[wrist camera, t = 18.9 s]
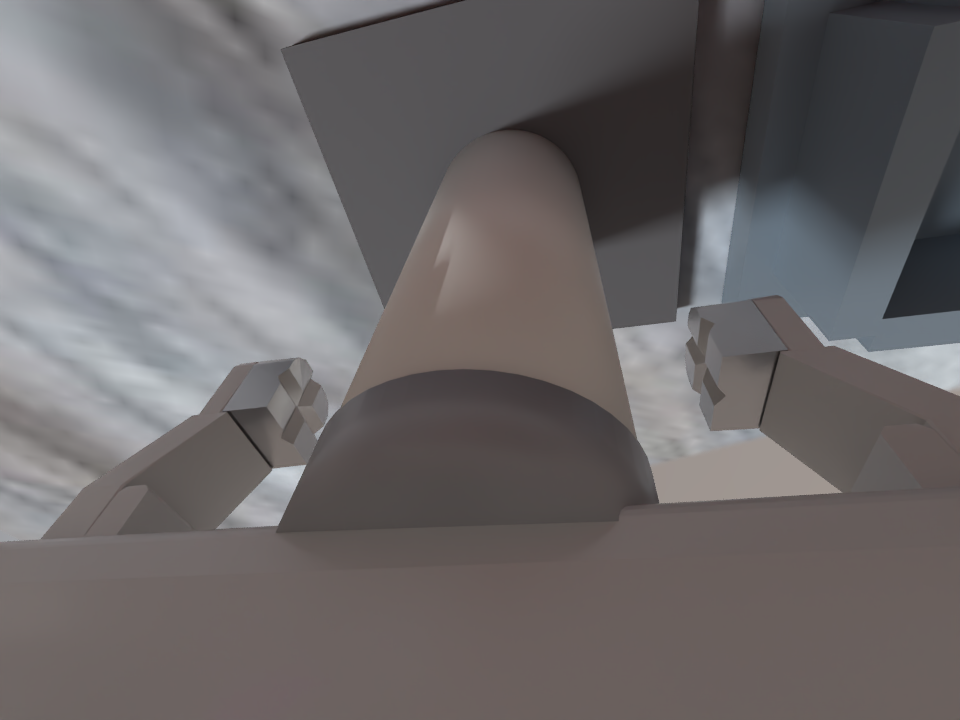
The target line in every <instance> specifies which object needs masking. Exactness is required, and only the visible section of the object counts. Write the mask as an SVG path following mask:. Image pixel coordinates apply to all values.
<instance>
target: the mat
mask: <svg viewBox="0 0 960 720" xmlns="http://www.w3.org/2000/svg"><path fill="white" fill-rule="evenodd" d="M698 7H699V0H463V1H460V2H456V3H452V4H448V5H445V6H441V7H437V8H433V9H429V10H426V11H422V12H418V13H414V14H410V15H407V16H403V17H399V18H395V19H392V20H388V21H384V22H380V23H376V24H373V25H369V26H365V27H361V28H357V29H354V30H350V31H346V32H342V33H339V34H335V35H331V36H327V37H323V38H320V39H316V40H312V41H308V42H304V43H301V44H297V45H293V46H290V47H286V48H283V49H281V52H282V54H283V57H284V59H285V62H286V64H287V67H288V69H289V72H290V74H291V77H292V79H293V82H294V84H295V87H296V89H297V92H298V94H299V97H300V99H301V102H302V104H303V107H304V109H305V112H306V114H307V117H308V119H309V122H310V124H311V127H312V129H313V132H314V134H315V137H316V139H317V142H318V144H319V147H320V149H321V152H322V154H323V157H324V159H325V162H326V164H327V167H328V169H329V172H330V174H331V177H332V179H333V182H334V184H335V187H336V189H337V192H338V194H339V197H340V199H341V202H342V204H343V207H344V209H345V212H346V214H347V217H348V219H349V222H350V224H351V227H352V229H353V232H354V234H355V236H356V239H357V241H358V244H359V246H360V249H361V251H362V254H363V256H364V259H365V261H366V264H367V266H368V269H369V271H370V274H371V276H372V279H373V281H374V284H375V286H376V289H377V291H378V294H379V296H380V299H381V301H382V304H383V306H384V309H385V307H386V305H387V303H388V301H389V298H390V296H391V294H392V292H393V290H394V287H395V285H396V283H397V281H398V278H399V276H400V274H401V272H402V269H403V267H404V265H405V263H406V261H407V258H408V256H409V254H410V252H411V249H412V247H413V245H414V243H415V240H416V238H417V236H418V234H419V232H420V229H421V227H422V225H423V223H424V220H425V218H426V216H427V214H428V212H429V209H430V207H431V205H432V203H433V200H434V198H435V196H436V194H437V191H438V189H439V187H440V185H441V183H442V180H443V178H444V176H445V174H446V172H447V170H448V168H449V166H450V164H451V162H452V161H453V159H454V158H455V157H456V155H457V154H458V153H459V152H460V151H461V150H462V149H463V148H464V147H465V146H467V145H468V144H469V143H470V142H472V141H474V140H475V139H477V138H479V137H481V136H483V135H486V134H488V133H492V132H495V131H501V130H522V131H528V132H531V133H534V134H537V135H539V136H542V137H544V138H546V139H547V140H549V141H550V142H552V143H553V144H555V145H556V146H557V147H558V148H559V149H560V150H562V152H563V153H564V154H565V155H566V156H567V157H568V159H569V160H570V162H571V164H572V165H573V167H574V169H575V172H576V174H577V177H578V180H579V184H580V188H581V192H582V197H583V201H584V206H585V210H586V215H587V219H588V223H589V228H590V232H591V237H592V241H593V246H594V250H595V255H596V259H597V263H598V268H599V272H600V277H601V281H602V286H603V290H604V295H605V299H606V303H607V308H608V312H609V317H610V321H611V326H612V329H615V328H624V327H632V326H640V325H649V324H657V323H666V322H674V321H676V313H677V299H678V285H679V271H680V257H681V243H682V229H683V215H684V201H685V187H686V174H687V160H688V146H689V132H690V118H691V104H692V90H693V76H694V62H695V48H696V34H697V20H698Z"/></svg>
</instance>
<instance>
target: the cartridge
mask: <svg viewBox="0 0 960 720" xmlns="http://www.w3.org/2000/svg"><path fill="white" fill-rule="evenodd" d="M643 504H659V500H658V495H657V491H656V487H655V483H654V479H653V475H652V471H651V467H650V464H649V461H648V458H647V456H646V454H645V452H644V450H643V448H642V447H641V445H640V443H639V442H638V440H637V437H636V432H635V428H634V424H633V419H632V415H631V410H630V406H629V401H628V397H627V392H626V388H625V384H624V379H623V375H622V370H621V366H620V361H619V357H618V352H617V348H616V344H615V339H614V335H613V330H612V326H611V321H610V317H609V312H608V308H607V303H606V299H605V295H604V290H603V286H602V281H601V277H600V272H599V268H598V263H597V259H596V255H595V250H594V246H593V241H592V237H591V232H590V228H589V223H588V219H587V215H586V210H585V206H584V201H583V197H582V192H581V188H580V184H579V180H578V177H577V174H576V172H575V169H574V167H573V165H572V164H571V162H570V160H569V159H568V157H567V156H566V155H565V154H564V153H563V152H562V150H560V149H559V148H558V147H557V146H556V145H555V144H553V143H552V142H550V141H549V140H547V139H546V138H544V137H542V136H539V135H537V134H534V133H531V132H528V131H522V130H501V131H495V132H492V133H488V134H486V135H483V136H481V137H479V138H477V139H475V140H474V141H472V142H470V143H469V144H468V145H467V146H465V147H464V148H463V149H462V150H461V151H460V152H459V153H458V154H457V155H456V157H455V158H454V159H453V161H452V162H451V164H450V166H449V168H448V170H447V172H446V174H445V176H444V178H443V180H442V183H441V185H440V187H439V189H438V191H437V194H436V196H435V198H434V200H433V203H432V205H431V207H430V209H429V212H428V214H427V216H426V218H425V220H424V223H423V225H422V227H421V229H420V232H419V234H418V236H417V238H416V240H415V243H414V245H413V247H412V249H411V252H410V254H409V256H408V258H407V261H406V263H405V265H404V267H403V269H402V272H401V274H400V276H399V278H398V281H397V283H396V285H395V287H394V290H393V292H392V294H391V296H390V298H389V301H388V303H387V305H386V307H385V310H384V312H383V314H382V316H381V319H380V321H379V323H378V325H377V327H376V330H375V332H374V334H373V336H372V339H371V341H370V343H369V345H368V348H367V350H366V352H365V354H364V356H363V359H362V361H361V363H360V365H359V368H358V370H357V372H356V374H355V377H354V379H353V381H352V383H351V385H350V388H349V390H348V392H347V394H346V397H345V399H344V401H343V403H342V406H341V408H340V409H339V410H338V411H337V412H336V413H335V414H334V415H333V416H332V418H331V419H330V420H329V421H328V423H327V424H326V426H325V428H324V430H323V432H322V433H321V435H320V437H319V439H318V442H317V444H316V446H315V448H314V450H313V452H312V455H311V457H310V459H309V461H308V463H307V465H306V467H305V470H304V472H303V474H302V476H301V478H300V480H299V482H298V485H297V487H296V489H295V491H294V493H293V495H292V498H291V500H290V502H289V504H288V506H287V508H286V510H285V513H284V515H283V517H282V519H281V521H280V523H279V525H278V528H277V531H276V533H280V532H309V531H337V530H366V529H394V528H425V527H455V526H486V525H517V524H548V523H578V522H609V521H619V515H620V511H621V510H622V509H623V508H624V507H625V506H629V505H643Z"/></svg>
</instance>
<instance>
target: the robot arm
mask: <svg viewBox="0 0 960 720" xmlns="http://www.w3.org/2000/svg"><path fill="white" fill-rule="evenodd" d="M688 328H689V330H690V332H691V334H692V337H691V339H690V340H689V341H688V342H687V343H686V348H685V363H686V371H687V375H688V379H689V382H690V384H691V387H692V389H693V390H695V391H696V392H698V393H700V394H701V396H700V404H699V406H700V408H701V410H702V413H703V415H704V417H705V420H706V422H707V424H708V426H709V429H710V431H720V430H737V429H754V428H760V431H761V432H763V433H764V434H765V435H767V436H768V437H769V438H771V439H772V440H773V441H775V442H776V443H777V444H779V445H780V446H781V447H783V448H784V449H785V450H787V451H788V452H789V453H791V454H792V455H793V456H795V457H796V458H797V459H799V460H800V461H801V462H803V463H804V464H805V465H807V466H808V467H809V468H811V469H812V470H813V471H815V472H816V473H817V474H819V475H820V476H821V477H823V478H824V479H825V480H827V481H828V482H829V483H831V484H832V485H833V486H835V487H836V488H838V489H839V490H840V491H841V492H843V493H834V494H818V495H799V496H782V497H764V498H747V499H731V500H714V501H697V502H680V503H679V502H678V503H661V504H643V505H629V506H625V507H624V508H623V509H622V510H621V511H620V515H619V521H609V522H578V523H548V524H517V525H486V526H455V527H425V528H394V529H366V530H337V531H309V532H280V533H276V531H277V528H278V526H264V527H247V528H230V529H216V528H217V527H218V526H219V525H220V524H221V523H222V522H223V521H224V520H225V519H226V518H227V517H228V515H229V514H230V513H231V512H232V511H233V510H234V509H235V508H236V507H237V506H238V505H239V504H240V503H241V502H242V501H243V500H244V499H245V498H246V497H247V496H248V495H249V494H250V493H251V492H252V491H253V490H254V489H255V488H256V487H257V486H258V485H259V484H260V482H261V481H262V480H263V479H264V478H265V477H266V476H267V475H268V474H269V473H270V472H271V471H272V468H280V467H289V466H298V465H307V463H308V461H309V459H310V456H311V454H312V452H313V450H314V447H315V445H316V443H317V439H316V437H315V433H316V432H317V431H318V430H319V429H320V428H322V427H323V426H324V424H325V421H326V419H327V416H328V400H327V396H326V393H325V391H324V390H323V388H322V386H321V385H319V384H318V383H316V382H315V381H313V380H312V379H311V377H312V373H313V370H312V369H311V367H310V365H309V364H308V362H307V361H306V360H305V359H302V358H290V359H281V360H271V361H262V362H253V363H246V364H240V365H238V366H235V367H234V368H233V369H232V370H231V372H230V373H229V375H228V376H227V377H226V379H225V380H224V381H223V383H222V384H221V385H220V387H219V388H218V389H217V391H216V392H215V394H214V395H213V396H212V398H211V399H210V400H209V402H208V403H207V404H206V406H205V407H204V409H203V410H202V411H201V413H200V414H199V415H194V416H191V417H190V418H188V419H187V420H185V421H184V422H182V423H181V424H179V425H178V426H176V427H175V428H173V429H172V430H170V431H169V432H167V433H166V434H164V435H163V436H161V437H160V438H158V439H157V440H155V441H154V442H152V443H151V444H149V445H148V446H146V447H145V448H143V449H142V450H140V451H139V452H137V453H136V454H134V455H133V456H131V457H130V458H128V459H127V460H125V461H124V462H122V463H121V464H119V465H118V466H116V467H115V468H113V469H112V470H110V471H109V472H107V473H106V474H104V475H103V476H101V477H100V478H98V479H97V480H95V481H94V482H92V483H91V484H89V485H88V486H86V487H85V488H83V490H82V491H81V492H80V493H79V494H78V496H77V497H76V498H75V499H74V500H73V501H72V503H71V504H70V505H69V506H68V507H67V509H66V510H65V511H64V512H63V513H62V514H61V516H60V517H59V518H58V519H57V520H56V522H55V523H54V524H53V525H52V526H51V527H50V529H49V530H48V531H47V532H46V533H45V535H44V536H43V537H42V538H41V539H40V540H24V541H7V542H0V720H960V396H958V395H955V394H953V393H950V392H948V391H945V390H943V389H940V388H938V387H935V386H933V385H930V384H928V383H925V382H923V381H920V380H918V379H915V378H913V377H910V376H908V375H906V374H903V373H901V372H898V371H896V370H893V369H891V368H888V367H886V366H883V365H881V364H878V363H876V362H873V361H871V360H868V359H866V358H863V357H861V356H858V355H856V354H853V353H851V352H848V351H846V350H843V349H841V348H838V347H836V346H828V347H824V346H823V344H822V343H821V342H820V341H819V340H818V338H817V337H816V336H815V335H814V334H813V332H812V331H811V330H810V329H809V328H808V327H807V325H806V324H805V323H804V322H803V321H802V319H801V318H800V317H799V316H798V315H797V314H796V312H795V311H794V310H793V309H792V308H791V306H790V305H789V304H788V303H787V302H786V301H785V299H784V298H783V297H781V296H779V295H772V296H766V297H760V298H753V299H748V300H745V301H737V302H730V303H723V304H716V305H708V306H701V307H694V308H691V310H690V312H689V317H688Z"/></svg>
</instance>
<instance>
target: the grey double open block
mask: <svg viewBox="0 0 960 720" xmlns="http://www.w3.org/2000/svg"><path fill="white" fill-rule="evenodd" d="M772 295H779V296H781V297H783V298H784V299H785V301H786V302H787V303H788V304H789V305H790V306H791V308H792V309H793V310H794V311H795V312H796V314H797V315H798V316H799V317H810V319H811V320H812V321H813V322H814V323H815V325H816V326H817V327H818V328H819V329H820V331H821V332H822V333H823V334H824V335H825V337H826V338H827V339H828V340H829V341H832V340H842V339H851V338H856V339H857V340H858V341H859V342H860V343H861V344H862V345H863V346H864V347H865V349H866V350H867V351H868V352H873V351H883V350H893V349H903V348H913V347H923V346H933V345H943V344H953V343H960V0H765V3H764V10H763V17H762V24H761V31H760V38H759V45H758V52H757V59H756V66H755V73H754V80H753V87H752V94H751V101H750V108H749V115H748V122H747V129H746V136H745V143H744V150H743V157H742V164H741V171H740V178H739V185H738V192H737V199H736V206H735V213H734V220H733V227H732V234H731V241H730V248H729V255H728V262H727V269H726V276H725V283H724V290H723V297H722V304H723V303H730V302H737V301H745V300H748V299H753V298H760V297H766V296H772Z"/></svg>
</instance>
